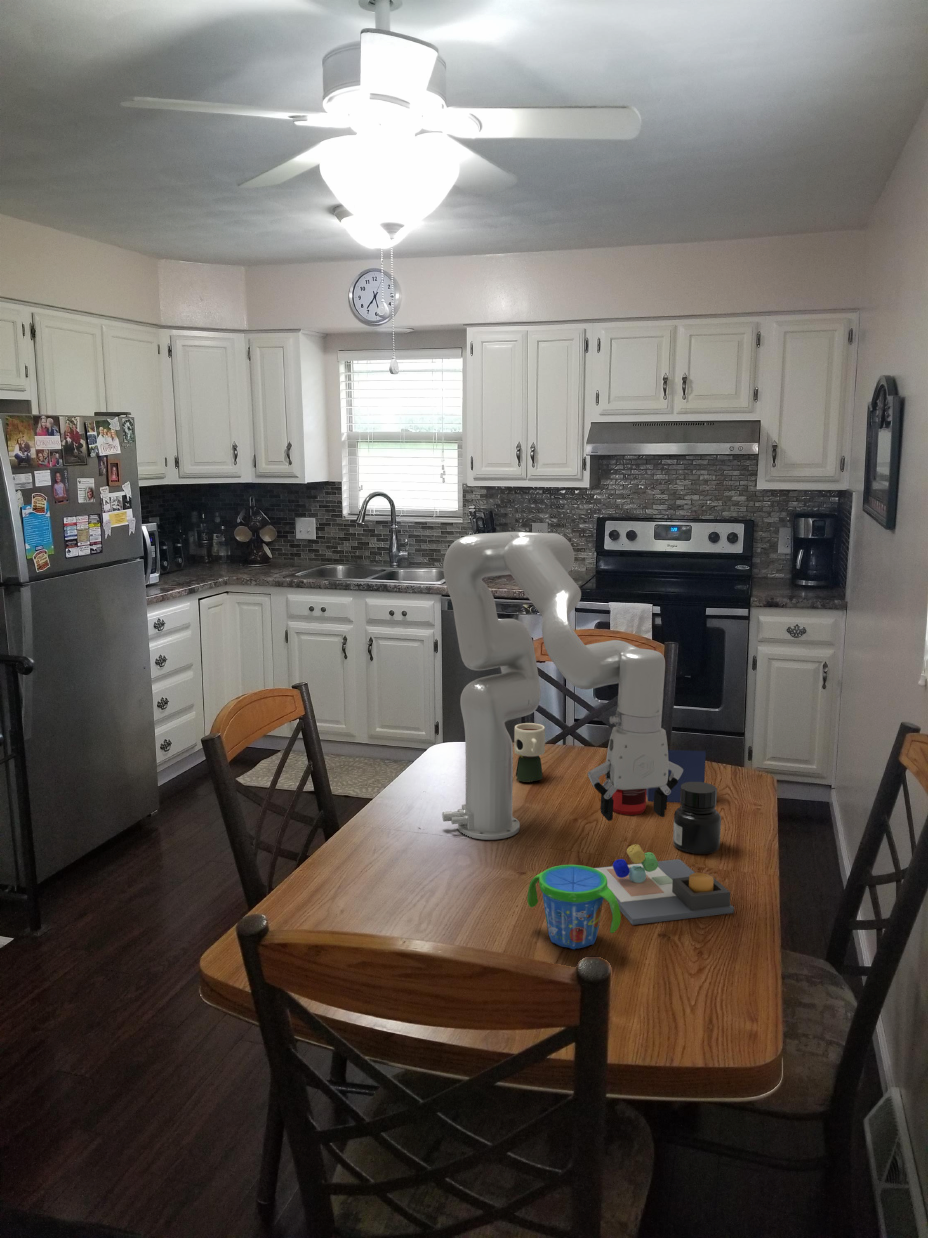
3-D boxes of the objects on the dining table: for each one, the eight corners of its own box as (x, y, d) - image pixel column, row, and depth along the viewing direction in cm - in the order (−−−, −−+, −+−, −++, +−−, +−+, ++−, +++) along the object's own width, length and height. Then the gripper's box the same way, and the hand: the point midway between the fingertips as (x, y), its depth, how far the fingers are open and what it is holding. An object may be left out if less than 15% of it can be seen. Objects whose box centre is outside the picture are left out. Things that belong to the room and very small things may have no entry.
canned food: (620, 800, 210) (621, 752, 208) (652, 808, 205) (654, 759, 203) (602, 809, 204) (603, 760, 203) (634, 818, 199) (636, 768, 198)
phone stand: (696, 785, 220) (698, 735, 218) (703, 803, 208) (705, 751, 206) (643, 783, 221) (645, 734, 219) (647, 801, 210) (649, 749, 208)
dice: (615, 884, 165) (616, 849, 164) (610, 878, 168) (611, 843, 167) (659, 882, 166) (660, 847, 165) (654, 875, 169) (655, 841, 168)
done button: (695, 898, 157) (696, 884, 157) (684, 887, 161) (684, 874, 161) (717, 895, 158) (718, 881, 158) (705, 885, 162) (706, 872, 162)
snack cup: (512, 934, 150) (512, 873, 149) (553, 911, 158) (554, 853, 156) (593, 970, 140) (594, 905, 138) (633, 944, 147) (635, 882, 146)
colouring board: (632, 925, 153) (633, 904, 153) (588, 873, 172) (588, 855, 172) (733, 913, 157) (734, 893, 157) (679, 864, 176) (680, 846, 176)
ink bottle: (682, 833, 191) (684, 776, 189) (725, 842, 187) (728, 784, 185) (666, 850, 183) (668, 790, 181) (711, 860, 178) (714, 799, 177)
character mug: (509, 773, 228) (509, 721, 226) (538, 772, 229) (538, 720, 227) (519, 788, 218) (520, 734, 215) (549, 787, 219) (550, 732, 217)
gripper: (599, 730, 157) (594, 828, 160) (695, 725, 161) (688, 821, 164) (583, 717, 164) (578, 811, 167) (675, 713, 168) (669, 804, 171)
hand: (633, 816), depth 166 cm, fingers open, 9 cm apart
